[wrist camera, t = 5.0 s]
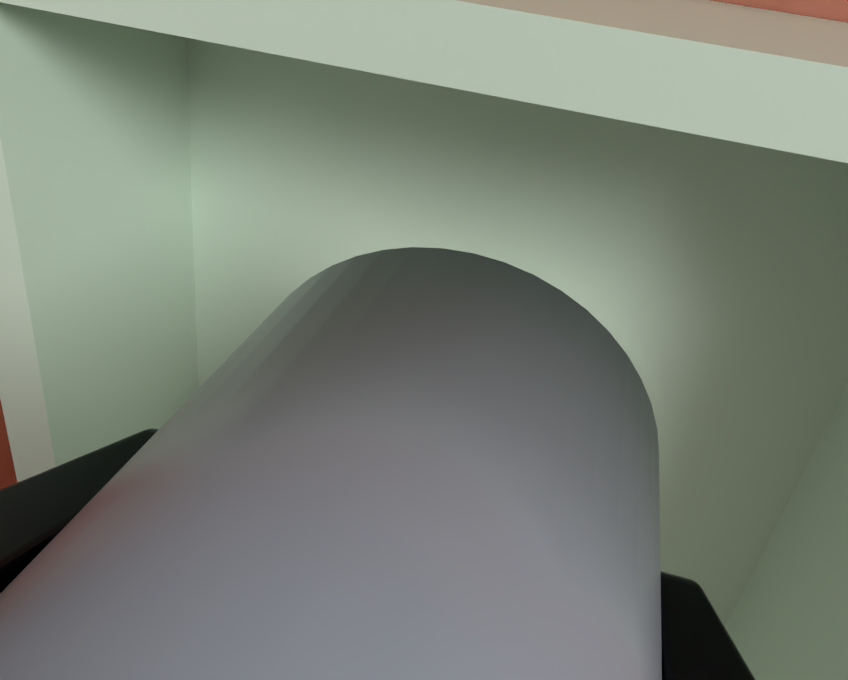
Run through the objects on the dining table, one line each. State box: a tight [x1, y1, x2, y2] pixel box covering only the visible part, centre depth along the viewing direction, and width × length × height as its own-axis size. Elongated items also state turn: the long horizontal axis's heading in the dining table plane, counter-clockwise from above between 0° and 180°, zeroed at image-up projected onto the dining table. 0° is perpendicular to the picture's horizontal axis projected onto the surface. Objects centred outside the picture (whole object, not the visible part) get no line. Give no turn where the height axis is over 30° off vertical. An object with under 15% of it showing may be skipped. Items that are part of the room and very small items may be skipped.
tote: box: [0, 0, 848, 680], centre depth 14 cm, size 14×18×5 cm
